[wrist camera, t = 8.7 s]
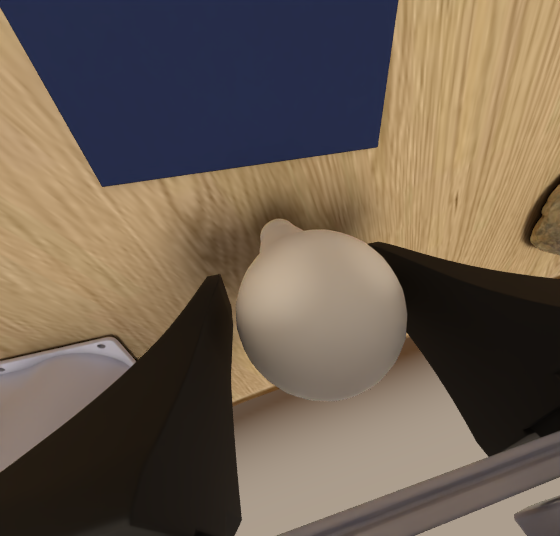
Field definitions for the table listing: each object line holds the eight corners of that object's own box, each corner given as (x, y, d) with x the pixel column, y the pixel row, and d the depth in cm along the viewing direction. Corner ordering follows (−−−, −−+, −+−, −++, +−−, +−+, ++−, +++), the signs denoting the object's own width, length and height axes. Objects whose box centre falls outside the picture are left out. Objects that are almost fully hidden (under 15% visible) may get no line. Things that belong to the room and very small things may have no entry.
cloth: (104, 186, 11) (101, 186, 11) (-76, -136, 6) (-88, -148, 6) (374, 147, 13) (377, 147, 13) (411, -123, 8) (417, -130, 8)
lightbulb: (223, 258, 15) (214, 451, 6) (246, 172, 12) (301, 273, 3) (297, 274, 17) (376, 430, 8) (330, 204, 14) (511, 317, 5)
